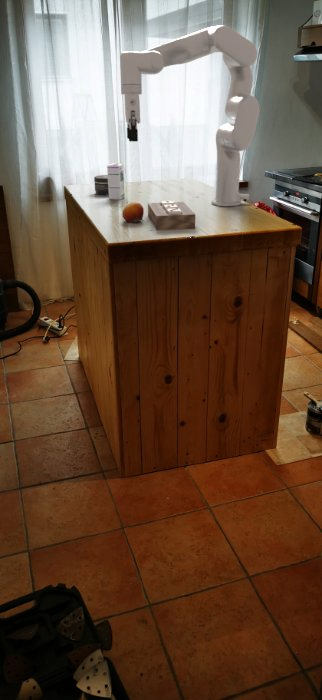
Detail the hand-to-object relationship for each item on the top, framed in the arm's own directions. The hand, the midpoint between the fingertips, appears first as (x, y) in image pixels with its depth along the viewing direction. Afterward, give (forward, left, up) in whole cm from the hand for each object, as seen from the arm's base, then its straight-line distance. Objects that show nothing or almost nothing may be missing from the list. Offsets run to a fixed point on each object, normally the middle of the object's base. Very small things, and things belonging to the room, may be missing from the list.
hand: (132, 139), depth 211 cm
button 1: (-12, +11, -23) cm, 28 cm away
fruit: (+2, +14, -28) cm, 31 cm away
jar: (+8, -42, -28) cm, 51 cm away
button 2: (-12, +18, -23) cm, 32 cm away
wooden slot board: (-12, +18, -27) cm, 35 cm away
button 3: (-12, +25, -23) cm, 36 cm away
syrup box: (+4, -30, -28) cm, 41 cm away
